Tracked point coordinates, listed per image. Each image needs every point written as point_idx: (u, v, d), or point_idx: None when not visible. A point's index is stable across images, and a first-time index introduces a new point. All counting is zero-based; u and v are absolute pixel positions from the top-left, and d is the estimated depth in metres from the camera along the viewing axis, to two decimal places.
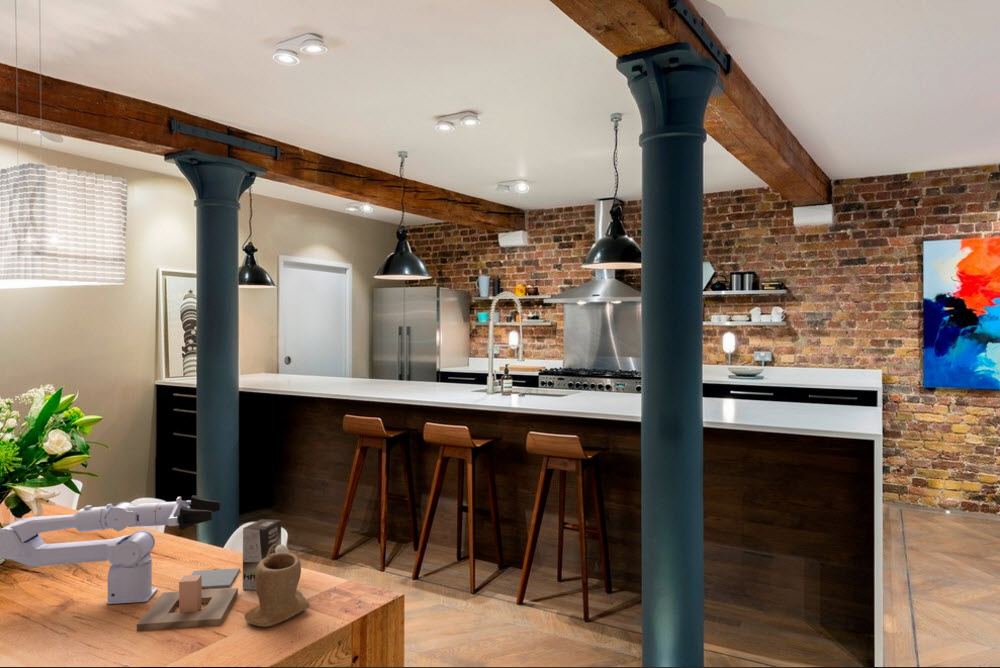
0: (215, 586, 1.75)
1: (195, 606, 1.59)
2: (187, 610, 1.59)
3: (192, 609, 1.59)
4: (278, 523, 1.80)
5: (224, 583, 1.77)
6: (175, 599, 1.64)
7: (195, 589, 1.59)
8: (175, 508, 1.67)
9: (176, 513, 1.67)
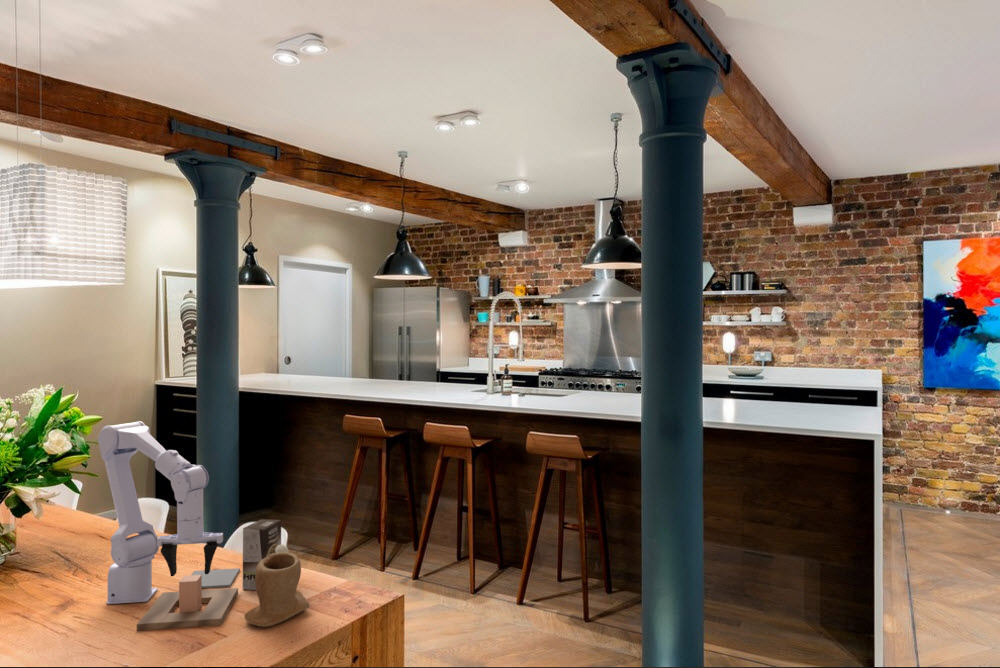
0: (215, 586, 1.75)
1: (195, 606, 1.59)
2: (187, 610, 1.59)
3: (192, 609, 1.59)
4: (278, 523, 1.80)
5: (224, 583, 1.77)
6: (175, 599, 1.64)
7: (195, 589, 1.59)
8: (173, 541, 1.58)
9: None
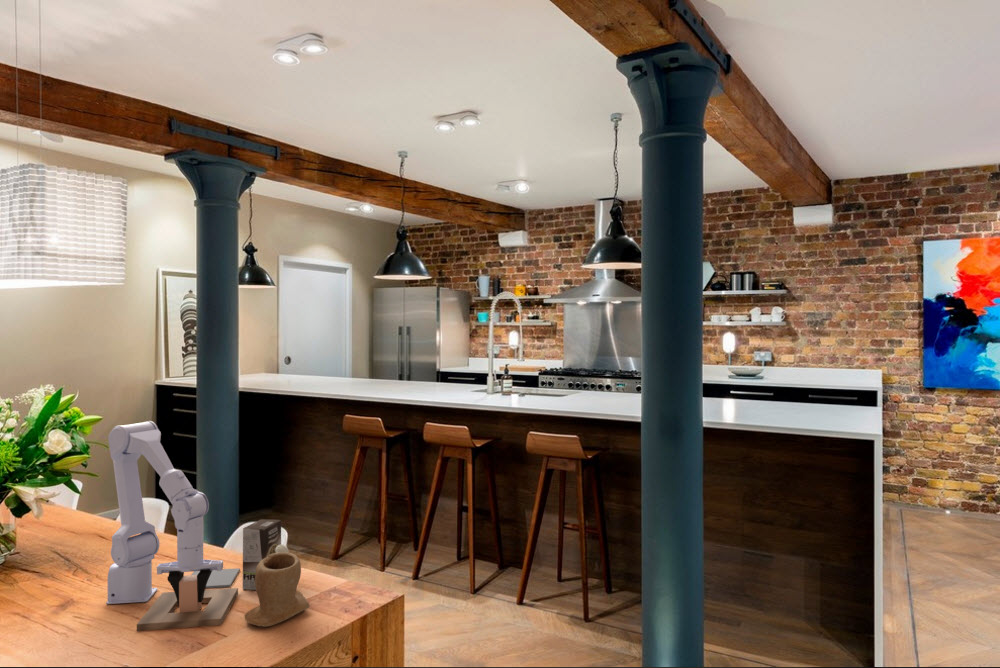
0: (215, 586, 1.75)
1: (195, 606, 1.59)
2: (187, 610, 1.59)
3: (192, 609, 1.59)
4: (278, 523, 1.80)
5: (224, 583, 1.77)
6: (175, 599, 1.64)
7: (195, 589, 1.59)
8: (173, 569, 1.58)
9: None
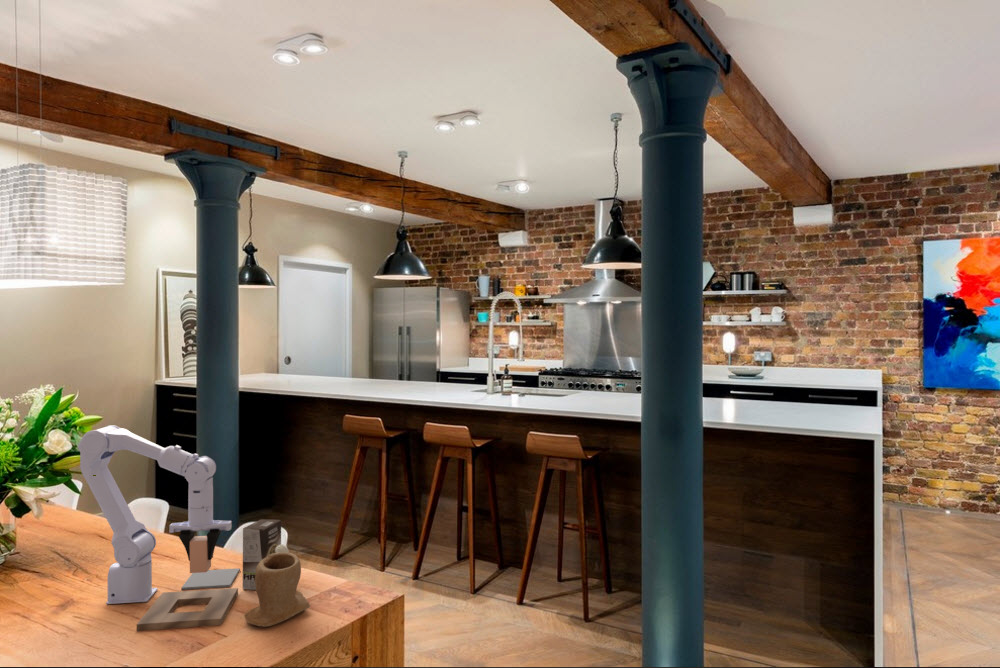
0: (215, 586, 1.75)
1: (205, 564, 1.68)
2: (197, 568, 1.68)
3: (202, 567, 1.68)
4: (278, 523, 1.80)
5: (224, 583, 1.77)
6: (175, 599, 1.64)
7: (205, 548, 1.68)
8: (185, 527, 1.67)
9: None
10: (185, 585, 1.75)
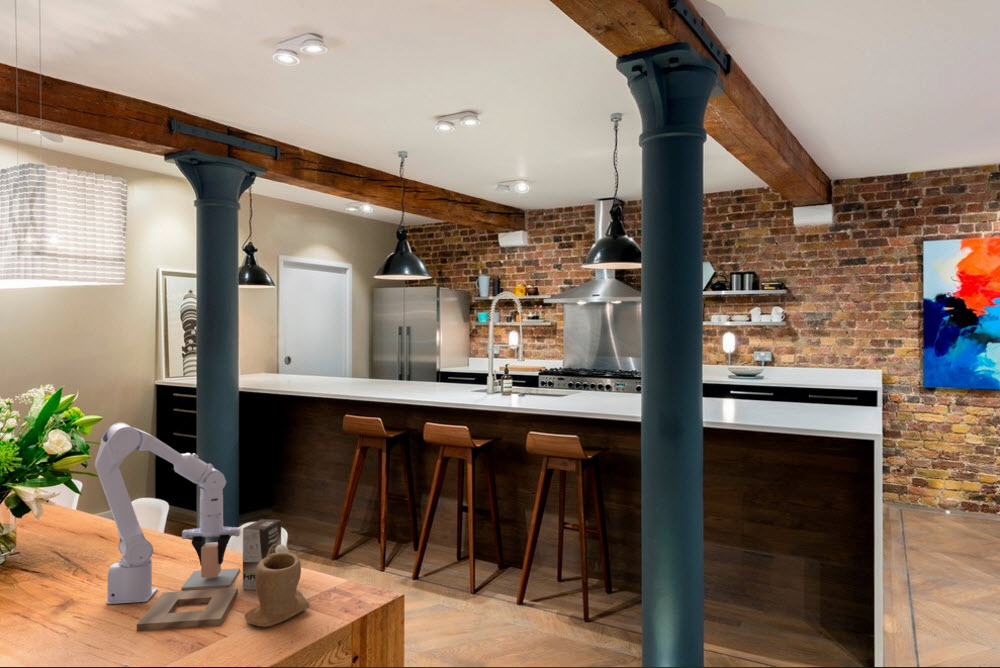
0: (215, 586, 1.75)
1: (215, 569, 1.78)
2: (208, 573, 1.78)
3: (213, 572, 1.78)
4: (278, 523, 1.80)
5: (224, 583, 1.77)
6: (175, 599, 1.64)
7: (215, 554, 1.78)
8: (197, 534, 1.78)
9: None
10: (185, 585, 1.75)
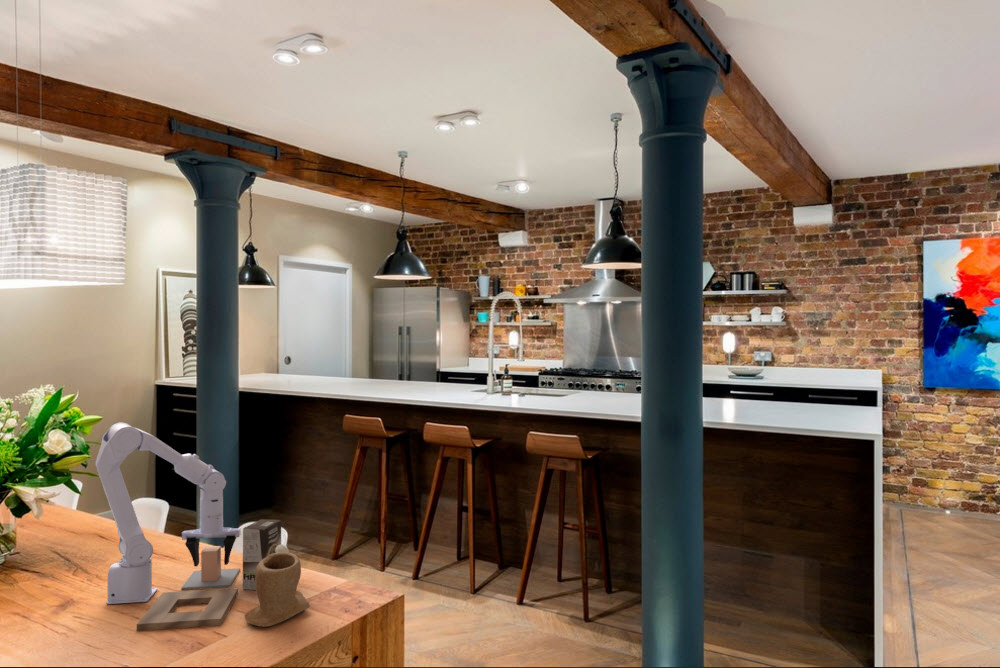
0: (215, 586, 1.75)
1: (215, 573, 1.78)
2: (208, 577, 1.78)
3: (213, 576, 1.78)
4: (278, 523, 1.80)
5: (224, 583, 1.77)
6: (175, 599, 1.64)
7: (215, 558, 1.78)
8: (197, 535, 1.78)
9: None
10: (185, 585, 1.75)
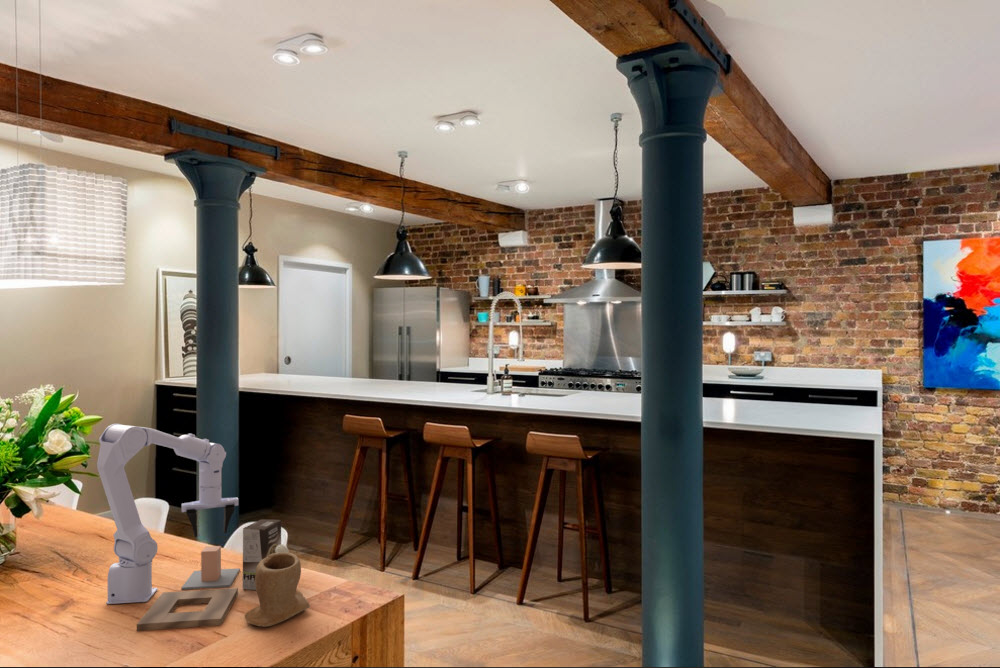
0: (215, 586, 1.75)
1: (215, 573, 1.78)
2: (208, 577, 1.78)
3: (213, 576, 1.78)
4: (278, 523, 1.80)
5: (224, 583, 1.77)
6: (175, 599, 1.64)
7: (215, 558, 1.78)
8: (198, 506, 1.84)
9: None
10: (185, 585, 1.75)
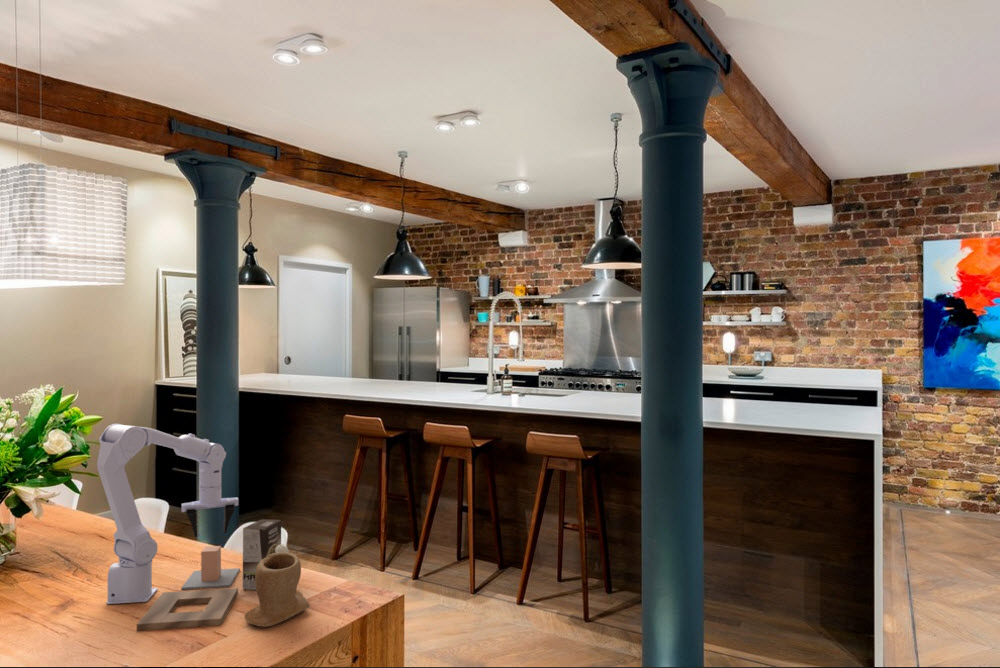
0: (215, 586, 1.75)
1: (215, 573, 1.78)
2: (208, 577, 1.78)
3: (213, 576, 1.78)
4: (278, 523, 1.80)
5: (224, 583, 1.77)
6: (175, 599, 1.64)
7: (215, 558, 1.78)
8: (198, 506, 1.84)
9: None
10: (185, 585, 1.75)
